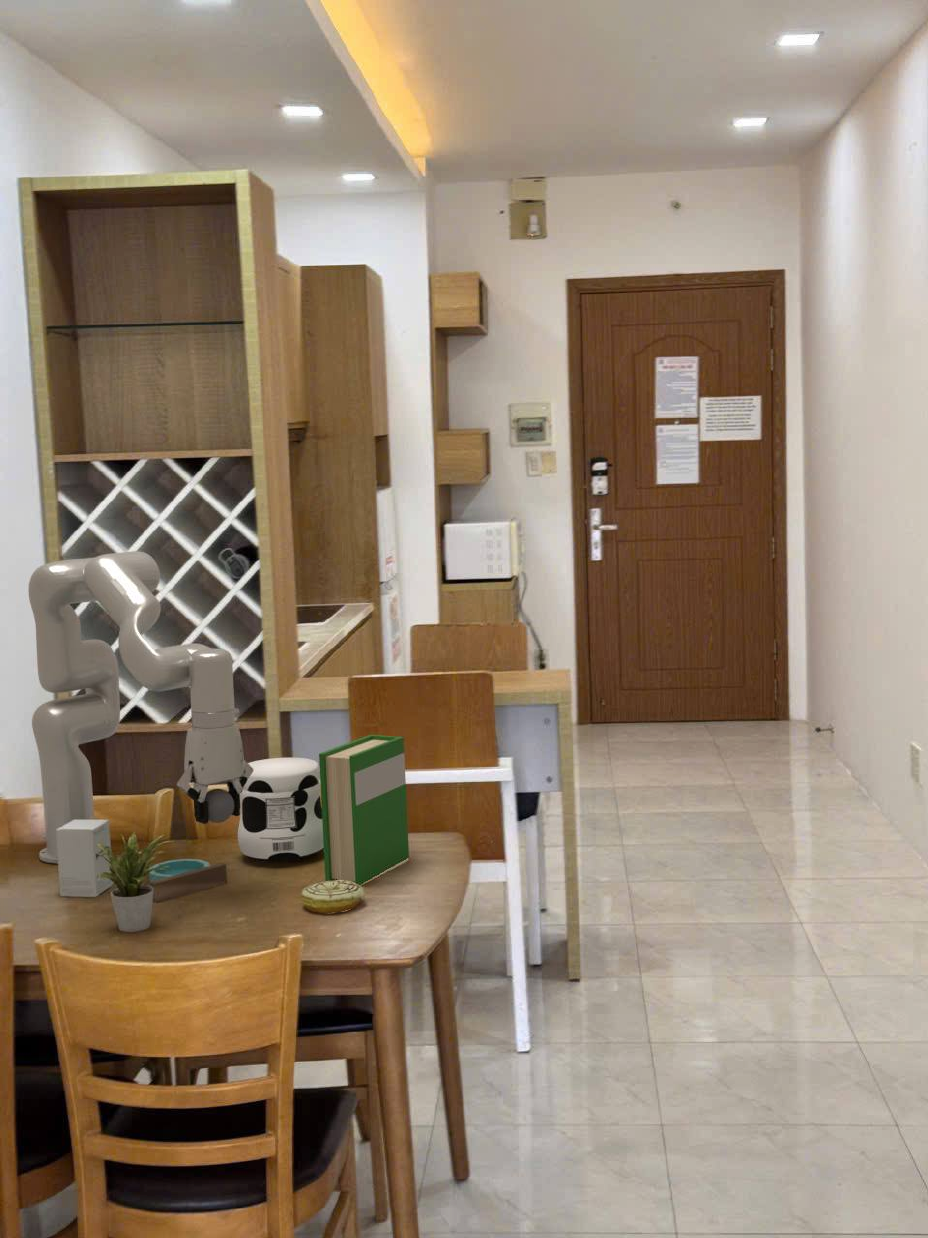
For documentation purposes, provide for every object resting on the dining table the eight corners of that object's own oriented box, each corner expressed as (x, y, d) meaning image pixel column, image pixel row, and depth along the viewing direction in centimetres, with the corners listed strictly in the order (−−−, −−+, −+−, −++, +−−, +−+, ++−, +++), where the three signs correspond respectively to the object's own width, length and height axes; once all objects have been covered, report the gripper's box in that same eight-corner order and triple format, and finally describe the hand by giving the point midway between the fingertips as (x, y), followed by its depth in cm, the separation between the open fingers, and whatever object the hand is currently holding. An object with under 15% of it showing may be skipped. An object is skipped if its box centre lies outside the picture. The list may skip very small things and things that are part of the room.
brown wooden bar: (151, 901, 258) (150, 882, 257) (222, 881, 268) (221, 863, 267) (156, 903, 257) (155, 883, 256) (227, 883, 267) (226, 864, 266)
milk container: (290, 839, 295) (285, 752, 293) (346, 853, 283) (341, 763, 281) (220, 858, 283) (215, 768, 281) (276, 874, 271) (271, 780, 269)
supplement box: (97, 898, 261) (92, 829, 259) (59, 897, 262) (54, 828, 261) (114, 885, 268) (110, 818, 267) (77, 884, 270) (73, 818, 268)
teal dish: (138, 881, 270) (137, 869, 270) (189, 867, 278) (188, 855, 277) (170, 892, 262) (169, 880, 262) (221, 878, 270) (220, 866, 270)
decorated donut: (376, 904, 252) (376, 883, 251) (330, 920, 244) (329, 899, 243) (336, 893, 259) (335, 872, 258) (290, 908, 251) (289, 887, 250)
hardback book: (360, 887, 261) (353, 756, 258) (325, 882, 265) (318, 753, 262) (409, 860, 277) (403, 737, 274) (376, 856, 280) (370, 734, 277)
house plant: (195, 930, 241) (189, 834, 239) (115, 948, 234) (108, 849, 232) (164, 909, 253) (158, 817, 251) (86, 925, 245) (79, 831, 244)
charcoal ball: (194, 822, 258) (192, 789, 258) (222, 815, 262) (221, 783, 262) (213, 828, 254) (211, 795, 253) (241, 821, 258) (240, 789, 257)
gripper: (241, 709, 264) (245, 805, 267) (159, 724, 253) (164, 824, 255) (265, 714, 259) (269, 812, 261) (183, 729, 247) (188, 832, 250)
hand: (217, 817), depth 258 cm, fingers closed on charcoal ball, 5 cm apart
